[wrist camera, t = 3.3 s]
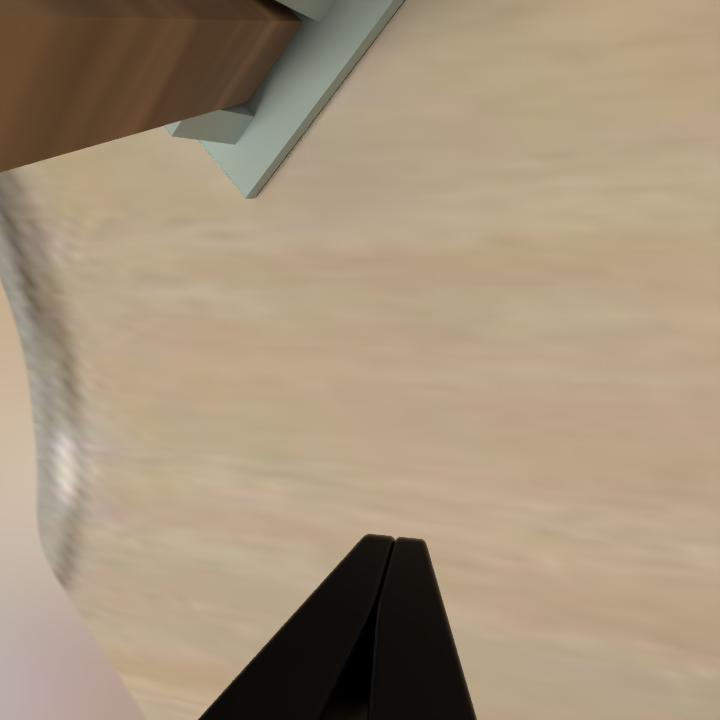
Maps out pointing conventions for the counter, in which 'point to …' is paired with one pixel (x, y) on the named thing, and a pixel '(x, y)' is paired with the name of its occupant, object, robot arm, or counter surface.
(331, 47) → the bracket
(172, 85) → the brown wooden post
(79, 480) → the counter surface
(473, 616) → the counter surface
